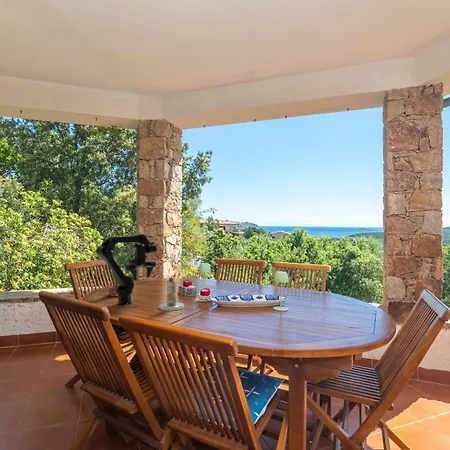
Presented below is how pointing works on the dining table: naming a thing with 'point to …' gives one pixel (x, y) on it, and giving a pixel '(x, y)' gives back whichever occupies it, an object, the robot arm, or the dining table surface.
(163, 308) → the plate
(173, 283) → the beige striped cylinder
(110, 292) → the potted flower
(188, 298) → the dining table surface
